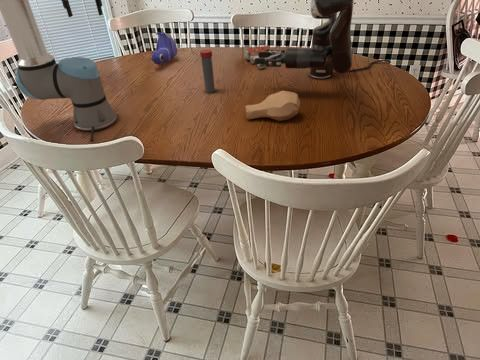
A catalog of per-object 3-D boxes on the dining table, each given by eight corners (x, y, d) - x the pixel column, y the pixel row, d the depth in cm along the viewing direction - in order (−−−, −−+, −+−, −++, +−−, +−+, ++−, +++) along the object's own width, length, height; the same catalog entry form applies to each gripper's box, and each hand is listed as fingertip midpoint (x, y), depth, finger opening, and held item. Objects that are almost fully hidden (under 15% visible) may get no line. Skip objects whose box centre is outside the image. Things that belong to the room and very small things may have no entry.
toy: (165, 64, 197) (145, 70, 175) (161, 31, 190) (139, 33, 168) (182, 63, 195) (163, 69, 172) (178, 30, 188) (158, 32, 166)
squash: (303, 121, 125) (302, 100, 119) (248, 131, 127) (244, 110, 121) (298, 104, 133) (297, 83, 126) (246, 113, 135) (242, 93, 128)
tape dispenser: (262, 73, 170) (281, 58, 183) (262, 62, 167) (281, 48, 179) (231, 66, 178) (251, 52, 190) (230, 56, 174) (251, 42, 187)
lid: (198, 55, 144) (197, 50, 143) (209, 53, 146) (208, 48, 145) (203, 58, 141) (202, 53, 140) (214, 56, 143) (213, 51, 142)
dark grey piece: (203, 90, 153) (199, 52, 143) (212, 88, 155) (208, 50, 145) (207, 93, 150) (203, 54, 140) (216, 91, 152) (212, 52, 142)
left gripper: (102, -44, 147) (116, 12, 160) (44, -40, 148) (61, 15, 160) (96, -42, 141) (111, 15, 153) (35, -38, 142) (54, 19, 154)
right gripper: (300, 43, 140) (259, 43, 143) (297, 53, 129) (253, 53, 132) (299, 62, 144) (259, 61, 147) (296, 74, 133) (253, 73, 136)
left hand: (85, 15), depth 157 cm, fingers open, 13 cm apart
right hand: (256, 57), depth 140 cm, fingers open, 8 cm apart
